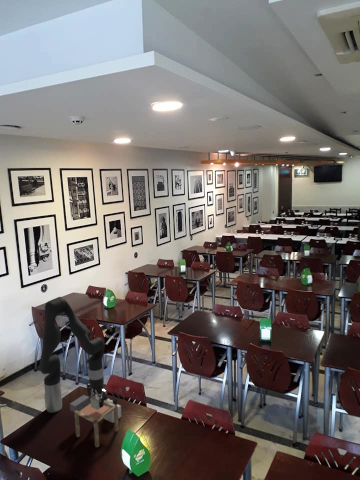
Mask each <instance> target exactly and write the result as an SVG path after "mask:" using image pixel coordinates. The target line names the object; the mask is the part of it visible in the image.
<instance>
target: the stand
mask: <svg viewBox="0 0 360 480" xmlns="http://www.w3.org/2000/svg"><path fill="white" fill-rule="evenodd" d="M104 405H106V406H107V405H108V406H110V407H112V408H111V409H109V410H108V411H106V412H105V413H104V414H102V415H101V416H100V417H98V418H97V419H94V418H92V417H90V416H88V415H86V414H84V413H81V412H79V411H77V410H76V411H75V412H74V423H75V425H74V426H75V436H76V437H77V438H79V437H81V429H80V428H81V426H80V417H81V418H82V419H83V418H84V419H85V420H87V421H89V422H91V423H93V433H94V434H93V435H94V447H95V448H99V447H100V434H99V422H101V421H102V420H103V419H104V417H105V416H107V415H108V414H110V413H111V412H112V411H114V432H118V431H120V429H119V419H118V406H117V405H114V404H112V403H110V402H107V400H105V401H104Z"/></svg>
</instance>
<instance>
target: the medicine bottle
mask: <svg viewBox="0 0 360 480" xmlns="http://www.w3.org/2000/svg"><path fill="white" fill-rule="evenodd" d="M106 401H107V402H110V403H112V404H114V405H117V406H118V420H119V419H120V418H121V417H122V405H120V404H118V398H117V397H115V396H110V397H107V399H106ZM106 406H108V405H106ZM108 407H110V406H108ZM111 408H112V407H111ZM103 419H104V420H106V421H108V422H110V423H112V424H113V423H114V411H112V412H111V413H110V414H108V415H107V416H105V417H104V418H103Z"/></svg>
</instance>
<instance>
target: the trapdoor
mask: <svg viewBox="0 0 360 480" xmlns="http://www.w3.org/2000/svg"><path fill="white" fill-rule="evenodd" d="M69 409H70V411H71V412H73V413H75V411H76V410H77V411H79V412H81V413H84V414H86V415H88V416H90V417H92V418H94V419H97V418H98V417H100V416H101V415H102V414H104V413H105V412H106V411H108V410H109V409H111V407H108V406H107V405H106V404H104V406H103V407H101V408H100V409H98V410H97V409H94V408H92V407H91V399H90V396H89V395H85V394H83V395H81V396H80V397H78V398H76V399H75V400H73V401H72V402H70V403H69Z"/></svg>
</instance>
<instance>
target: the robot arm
mask: <svg viewBox="0 0 360 480" xmlns="http://www.w3.org/2000/svg"><path fill="white" fill-rule="evenodd" d="M73 309H74V308H72V306H71V305H70V304H69V302H68V301H67V300H66V299H65V298H64V297H62V296H58V297H55V298H53V299H51V300H49V301H47V302H46V303H45V305H44V330H43V331H44V332H43V338H42V339H43V341H42V351H41V355H40V358H39V359H40V360H39V370H40V373H42V374H43V375H46V376H45V377H44V379H43V384H44V385H43V387H44V406H45V409H46V411H47V413H57V412H60V410H62V409H63V397H62V384H61V383H62V382H61V377H62V376H61V360H60V358H59V356H58V355H57V354H53V353H54V352H55V350H56V349H57V348H58V347H59V345H60V343H61V337H62V336H61V335H62V331H61V329H60V327H58V325H57V324H56V319H57V317H58V316H60V315H62V314H64V315H66V317H67V318H68V323H69V328H70V331H71V333H72V335H74V336H75V338H76V339H77V340H78V341H79V343H80V345H81V347H82V348H83V351H84V352H85V353H86V354H87V355H88V356H90V357H89V358H88V384H86V385H85V386H86V390H87V394H88V395H87V396H88V397H90V398H92V397H93V396H95V395H96V394H97V397H98V398H99V406H100V408H101V407H103V406H104V405H105V404H104V401H107V399H108V392H109V391H108V389H105V388H104V382H105V380H104V376H105V375H104V367H103V357H104V353H105V342H104V340H103V338H102V337H98V336H97V337H94V338H93V339H91V340H90V337H91V336H92V332H91V331H90V330H89V328H88V327H87V326H86V325H85V324H84V323H83V322H82V321H81V320H80V319H79V317H78V315H77V314H76V312H75V311H74V310H73ZM101 397H102V398H101Z"/></svg>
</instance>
